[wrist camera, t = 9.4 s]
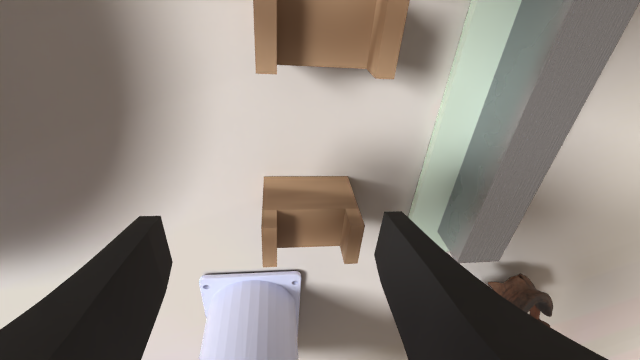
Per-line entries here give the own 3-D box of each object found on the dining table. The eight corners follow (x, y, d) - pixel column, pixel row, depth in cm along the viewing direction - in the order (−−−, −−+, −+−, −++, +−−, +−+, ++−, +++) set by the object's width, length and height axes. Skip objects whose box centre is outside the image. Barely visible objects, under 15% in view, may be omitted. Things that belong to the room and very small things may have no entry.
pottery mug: (409, 272, 29) (497, 324, 22) (474, 230, 33) (565, 263, 26) (420, 368, 33) (498, 437, 26) (477, 320, 37) (557, 369, 30)
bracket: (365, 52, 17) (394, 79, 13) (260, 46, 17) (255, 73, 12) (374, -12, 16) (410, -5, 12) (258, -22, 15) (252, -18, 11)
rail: (437, 231, 25) (475, 230, 25) (456, 263, 22) (498, 261, 23) (541, -54, 15) (600, -48, 15) (599, -59, 12) (668, -51, 13)
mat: (488, 244, 27) (492, 249, 27) (399, 247, 26) (401, 253, 26) (628, -37, 16) (639, -37, 16) (486, -52, 15) (493, -53, 15)
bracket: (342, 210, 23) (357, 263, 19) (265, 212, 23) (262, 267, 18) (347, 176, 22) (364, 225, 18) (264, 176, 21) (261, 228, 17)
